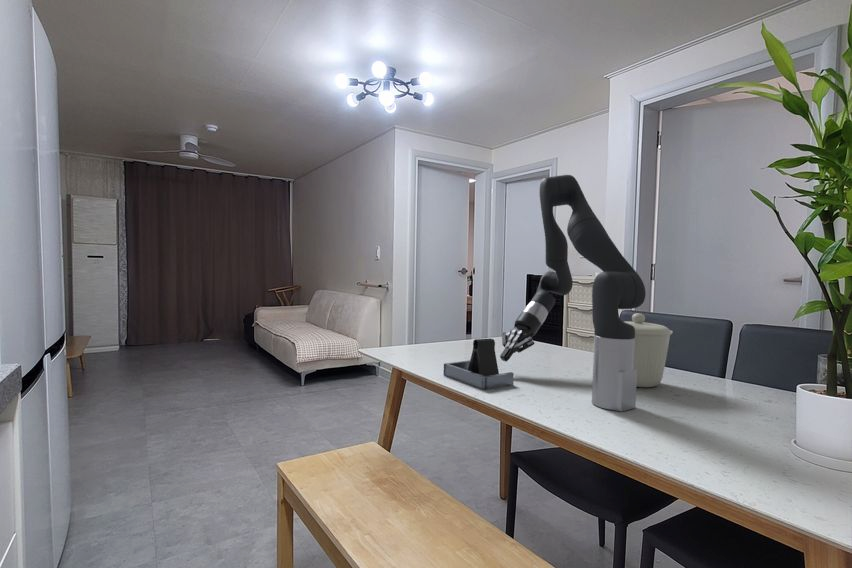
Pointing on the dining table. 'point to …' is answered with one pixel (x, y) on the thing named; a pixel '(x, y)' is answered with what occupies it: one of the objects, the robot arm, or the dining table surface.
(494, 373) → the black folding stand
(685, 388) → the dining table surface
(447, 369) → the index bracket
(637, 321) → the canister
